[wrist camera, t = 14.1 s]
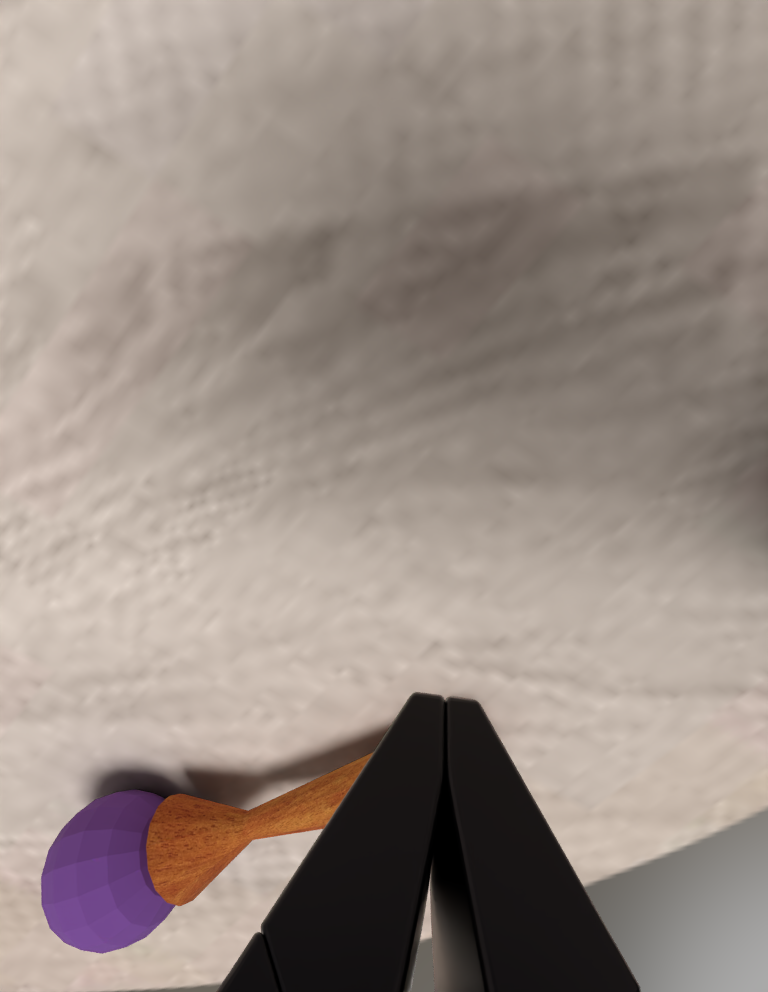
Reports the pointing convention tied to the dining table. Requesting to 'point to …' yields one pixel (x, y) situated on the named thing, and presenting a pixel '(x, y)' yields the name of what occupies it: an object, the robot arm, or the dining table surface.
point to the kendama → (162, 855)
